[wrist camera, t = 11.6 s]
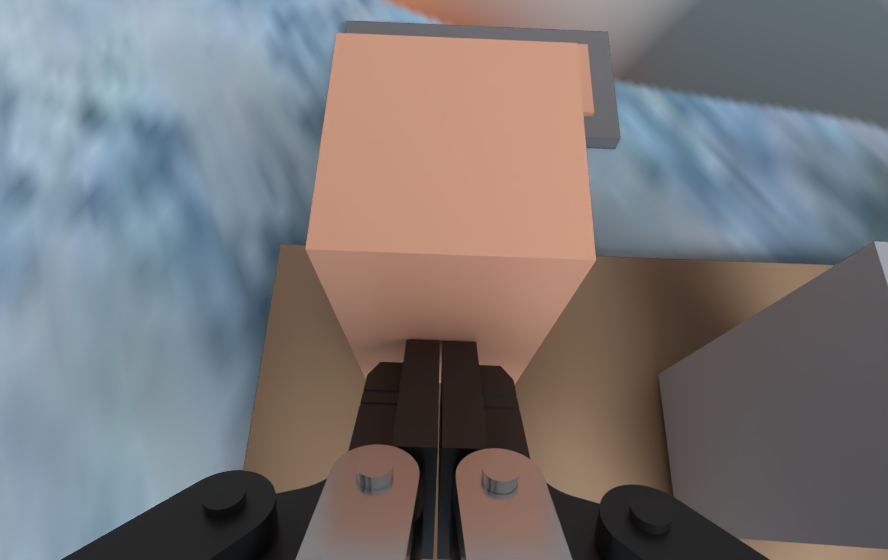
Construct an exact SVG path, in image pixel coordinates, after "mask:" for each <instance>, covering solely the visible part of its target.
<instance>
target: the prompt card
mask: <svg viewBox="0 0 888 560" xmlns="http://www.w3.org/2000/svg"><path fill="white" fill-rule="evenodd" d="M345 33H354V34H378V35H401V36H425V37H448V38H472V39H495V40H519V41H543V42H566V43H577V48H578V59H579V70H580V82H581V93H582V105H583V116H584V128H585V139H586V148H608V149H615V148H616V146H617V144H618V142H619V140H620V130H619V122H618V113H617V105H616V96H615V88H614V79H613V71H612V63H611V54H610V45H609V38H608V32H602V31H579V30H555V29H530V28H508V27H484V26H462V25H461V26H460V25H438V24H415V23H391V22H368V21H347V24H346V31H345Z"/></svg>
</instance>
